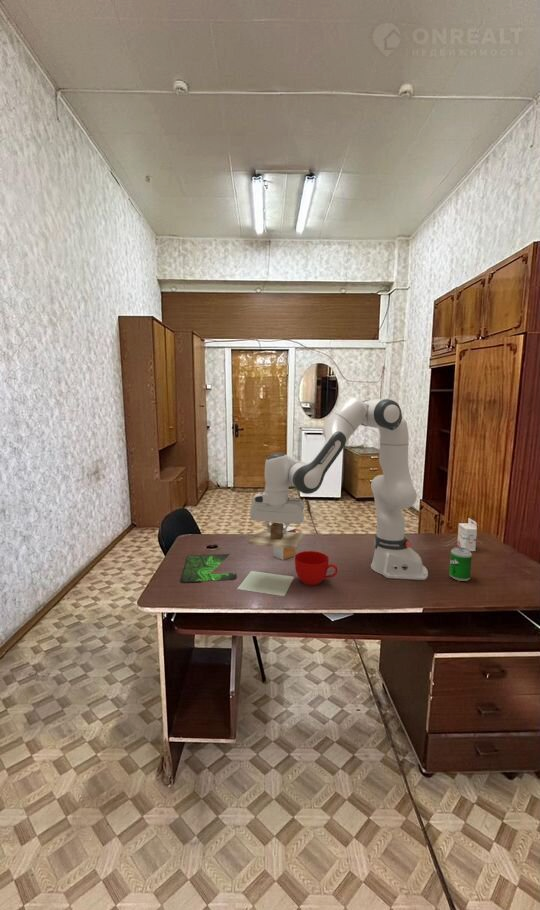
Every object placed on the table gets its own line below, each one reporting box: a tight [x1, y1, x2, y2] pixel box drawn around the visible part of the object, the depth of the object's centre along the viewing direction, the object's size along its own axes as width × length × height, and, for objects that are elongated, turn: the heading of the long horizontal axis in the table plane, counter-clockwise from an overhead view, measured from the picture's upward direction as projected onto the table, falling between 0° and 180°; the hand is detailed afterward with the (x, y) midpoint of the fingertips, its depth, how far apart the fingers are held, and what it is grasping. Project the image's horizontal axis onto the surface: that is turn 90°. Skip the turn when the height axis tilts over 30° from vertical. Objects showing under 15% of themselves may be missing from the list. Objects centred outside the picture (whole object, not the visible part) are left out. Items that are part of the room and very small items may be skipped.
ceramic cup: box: [294, 550, 339, 586], centre depth 145 cm, size 13×17×10 cm
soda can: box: [448, 546, 473, 582], centre depth 150 cm, size 8×8×12 cm
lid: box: [247, 522, 305, 550], centre depth 143 cm, size 18×14×6 cm
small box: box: [273, 525, 297, 561], centre depth 171 cm, size 8×6×13 cm
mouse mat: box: [179, 553, 238, 584], centre depth 159 cm, size 27×22×1 cm
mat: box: [236, 570, 295, 597], centre depth 145 cm, size 18×16×1 cm
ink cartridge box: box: [456, 517, 478, 552], centre depth 181 cm, size 9×5×15 cm, turn 179°
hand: (277, 532), depth 143 cm, fingers closed on lid, 4 cm apart
